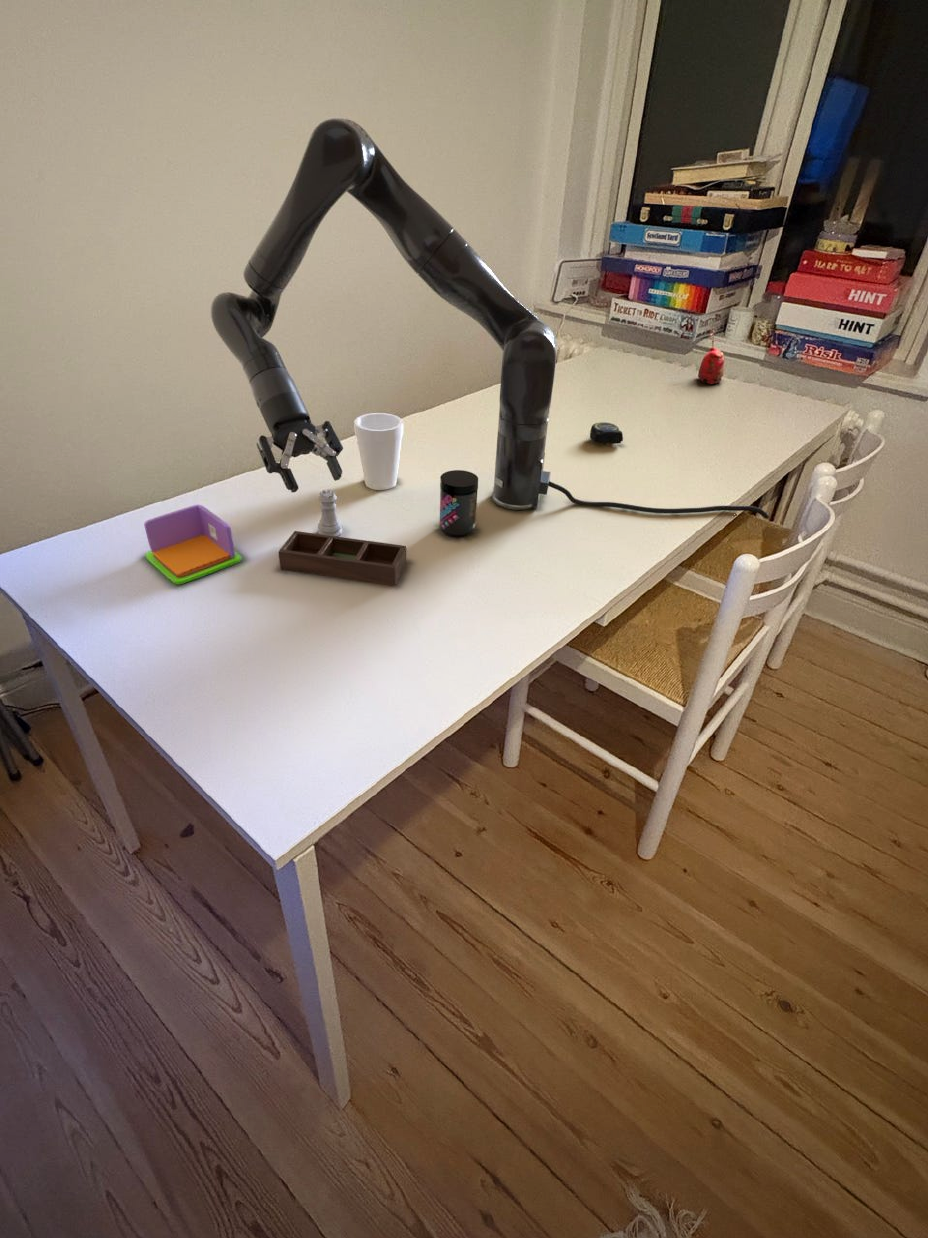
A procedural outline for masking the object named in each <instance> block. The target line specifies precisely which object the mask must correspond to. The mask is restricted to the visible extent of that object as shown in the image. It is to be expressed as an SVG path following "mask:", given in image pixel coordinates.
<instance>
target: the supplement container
mask: <svg viewBox="0 0 928 1238" xmlns="http://www.w3.org/2000/svg"><path fill="white" fill-rule="evenodd" d="M439 483H440V484H439V523H438V525H439V530H440V532H441V533H442V534H443V535H444V536H447V537H450V538H455V539H462V538H463V539H464V538H467V537H469V536H471V535H472V534H473V533H474V532H475V531H476V525H477V524H476V521H477V504H478V491H479V490H478V489H479V477H478V475H477V474H475V473H473V472H471V471H469V470H464V469H463V470H462V469H454V470H448V471H445V472H443V473H442V474H441V475H440V477H439Z"/></svg>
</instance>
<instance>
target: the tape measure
mask: <svg viewBox="0 0 928 1238" xmlns="http://www.w3.org/2000/svg"><path fill="white" fill-rule="evenodd" d="M623 436H624V435H623V432H622V430H620V428H619V426H617V424H615V423H611V422H606V421H603V422H602V421H601V422H595V423H594V424H592V425H591V428H590V431H589V438H590V440H591V441H592V442H593V443H594V444H598V445H605V446H606V445H612V444H613V445H614V444H617V445H618V444H621V443H622V442H623V441H624V437H623Z"/></svg>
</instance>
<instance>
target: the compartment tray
mask: <svg viewBox="0 0 928 1238" xmlns="http://www.w3.org/2000/svg"><path fill="white" fill-rule="evenodd" d="M277 554H278V559H279V569H280V571H281V570H282V571H287V572H288V571H289V572H295V573H303V574H310V575H316V576H322V577H331V578H337V579H343V580H344V579H345V580H350V581H351V580H352V581H359V582H364V583H371V584H372V583H373V584H379V585H386V586H394V587H396V585H397V584H398V582H399V580H400V578H401V576H402V574H403V572H404V569H405V568H406V565H407V545H402V544H394V543H387V542H380V541H372V540H365V539H359V538H351V537H343V536H338V537H337V536H329V535H322V534H319V533H313V532H308V531H299V530H294V531H293V533H291V535H290V536H289V537H288V538H287V540H286V541H285V543H283V545H282V546H281V547H280V549H278V551H277Z"/></svg>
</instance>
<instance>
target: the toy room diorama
mask: <svg viewBox="0 0 928 1238" xmlns="http://www.w3.org/2000/svg"><path fill="white" fill-rule="evenodd" d="M143 525H144V530H145V535H146V539H147V542H148V546H149V548H150V551H147V552H146V553H145V558H146V559H147V560H148V562H149V563H151V564H152V565H153V567H155V568H156V569H157V570H158V571H159V572H160V573H162V574H163V576H165V577H166V578H167V579H168V580H170V582H172V583H173V584H174V585H178V586H179V585H184V584H187V583H189V582H192V581H195V580H197V579H199V578H203V577H205V576H208V575H210V574H213V573H215V572H218V571H221V570H223V569H225V568H228V567H231V566H233V565H236V564H238V563H240V562H241V561H242V556H241V555H240V554H239V552H237V551H236V550H235V545H234V539H233V534H232V529H231V526H230V525H229V524H228V523H227V522H225V521H224V520H223V519H221V518H220V517H219V516H217V514H214V513H213V512H212V511H211V510H209V509H208V508H206V507H205V506H203V504H194V505H190V506H187V507H184V508H181V509H177V510H174V511H172V512H168V513H164V514H162V515H159V516H156V517H153V518H149V519H148V520H145V521H144V524H143Z"/></svg>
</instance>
